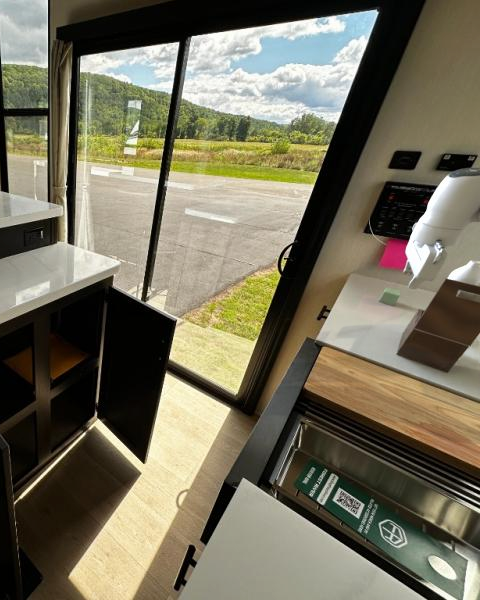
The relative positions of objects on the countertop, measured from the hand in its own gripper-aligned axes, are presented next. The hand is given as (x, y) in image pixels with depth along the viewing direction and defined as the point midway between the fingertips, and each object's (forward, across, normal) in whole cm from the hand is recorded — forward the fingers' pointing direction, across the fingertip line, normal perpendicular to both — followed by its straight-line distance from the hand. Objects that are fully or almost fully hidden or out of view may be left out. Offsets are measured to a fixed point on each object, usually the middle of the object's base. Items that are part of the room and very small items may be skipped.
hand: (409, 280), depth 90 cm
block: (+24, +34, -6) cm, 42 cm away
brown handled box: (+5, -2, -12) cm, 13 cm away
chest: (+24, +4, -13) cm, 27 cm away
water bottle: (+24, +21, -18) cm, 36 cm away
